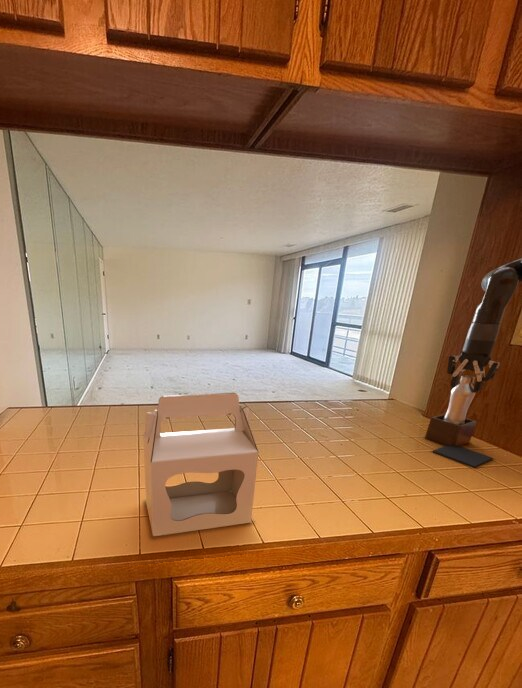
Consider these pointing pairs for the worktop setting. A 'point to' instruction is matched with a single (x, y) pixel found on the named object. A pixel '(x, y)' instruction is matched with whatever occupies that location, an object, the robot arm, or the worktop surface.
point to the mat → (463, 455)
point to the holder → (450, 431)
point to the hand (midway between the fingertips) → (464, 389)
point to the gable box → (199, 466)
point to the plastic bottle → (460, 400)
